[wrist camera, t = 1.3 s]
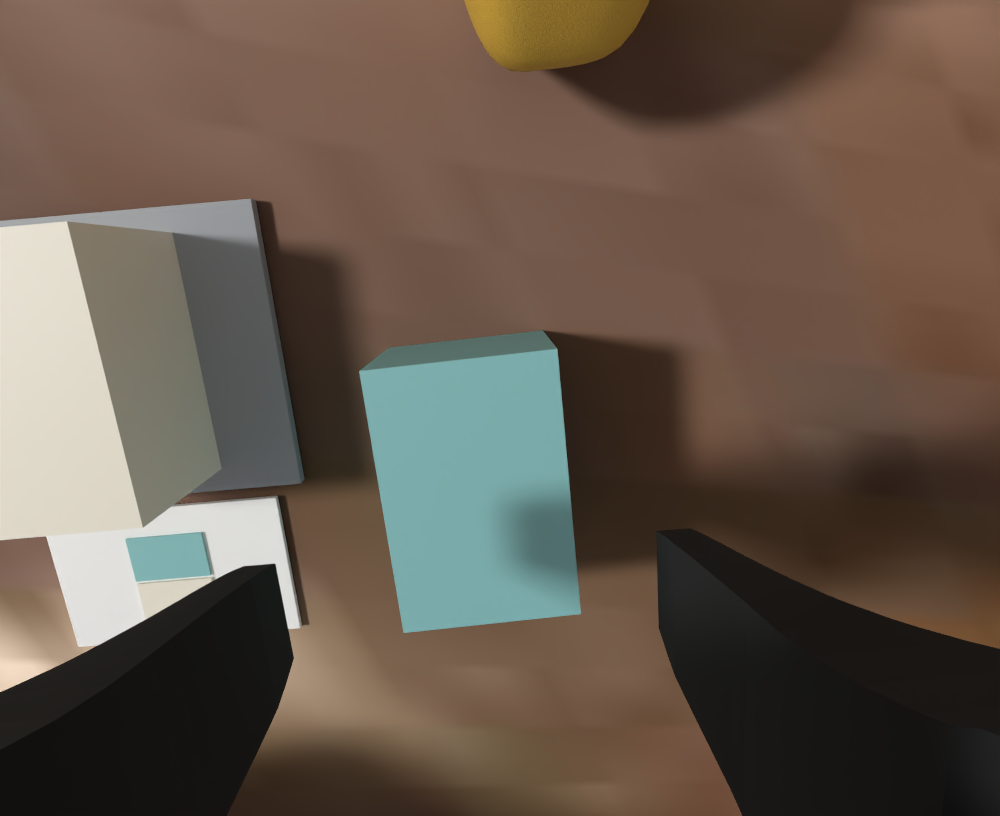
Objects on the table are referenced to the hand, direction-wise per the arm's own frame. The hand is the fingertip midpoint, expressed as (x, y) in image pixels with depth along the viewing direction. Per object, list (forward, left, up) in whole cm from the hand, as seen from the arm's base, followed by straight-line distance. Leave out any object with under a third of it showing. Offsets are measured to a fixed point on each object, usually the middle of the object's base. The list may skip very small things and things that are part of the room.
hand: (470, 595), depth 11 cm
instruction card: (-4, +11, -9) cm, 15 cm away
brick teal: (0, 0, -9) cm, 9 cm away
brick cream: (+4, +11, -9) cm, 15 cm away
